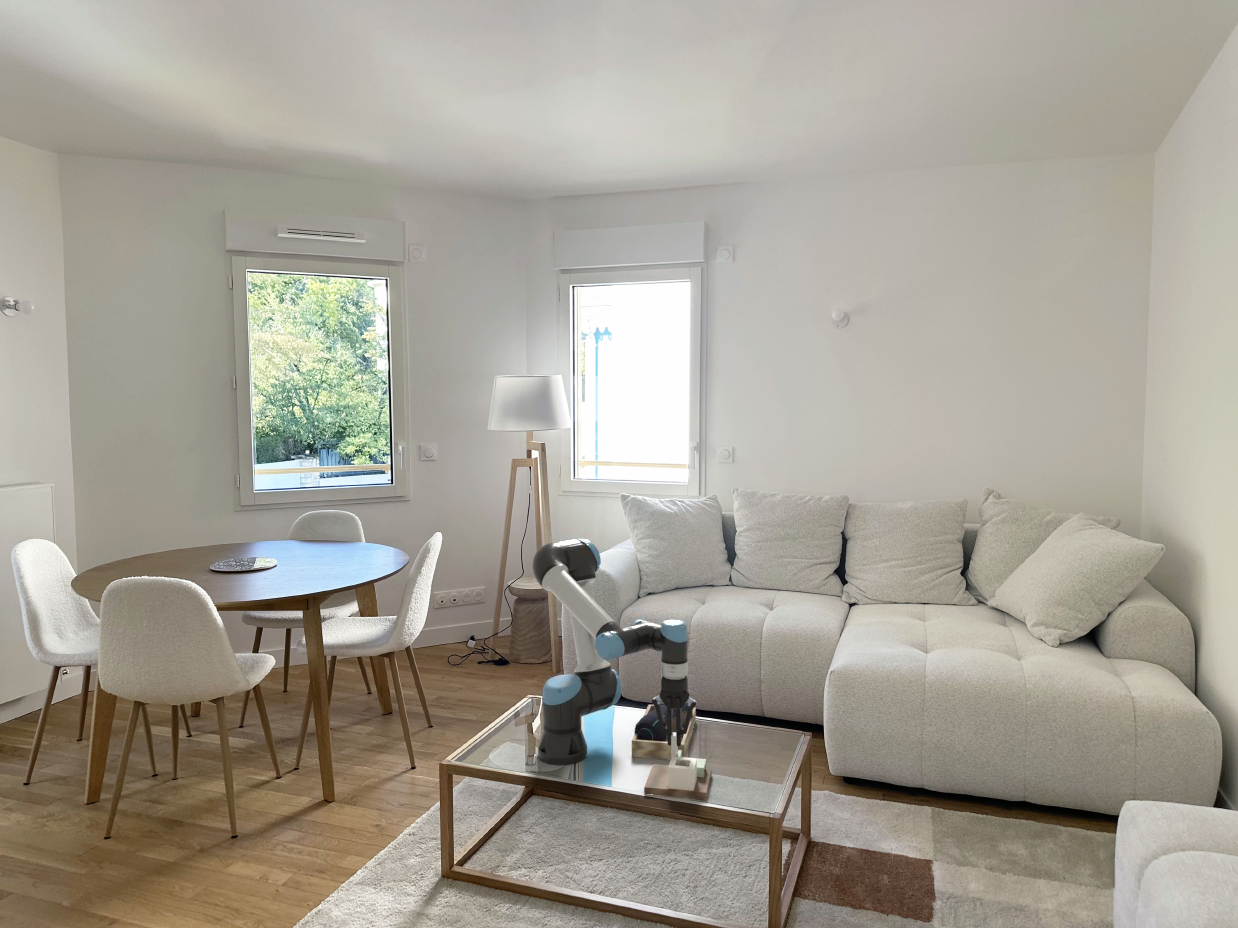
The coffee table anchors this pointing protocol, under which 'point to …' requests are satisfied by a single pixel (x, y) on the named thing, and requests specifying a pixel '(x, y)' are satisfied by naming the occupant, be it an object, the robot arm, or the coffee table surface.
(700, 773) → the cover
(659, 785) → the base plate
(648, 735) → the portable speaker
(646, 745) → the open wooden box
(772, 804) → the coffee table surface
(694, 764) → the sleeve
